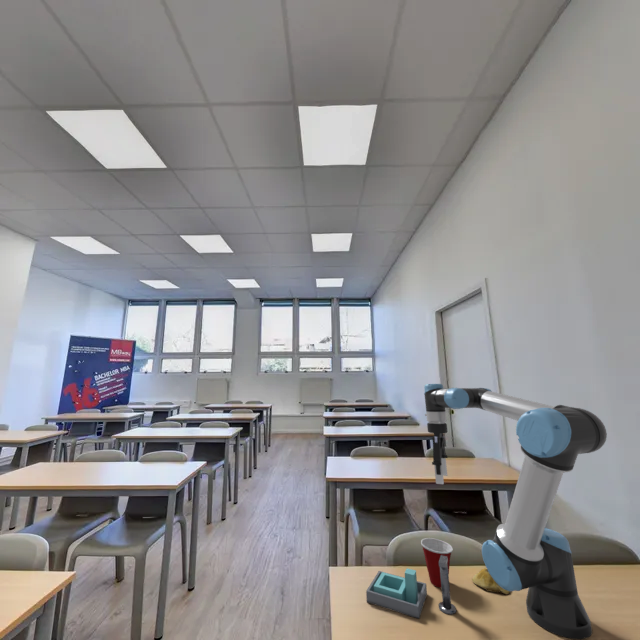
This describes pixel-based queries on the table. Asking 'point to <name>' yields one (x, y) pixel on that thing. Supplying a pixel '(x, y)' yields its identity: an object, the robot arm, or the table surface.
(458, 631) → the table surface
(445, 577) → the t stake
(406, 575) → the tabbed collar
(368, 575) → the table surface
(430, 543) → the plastic cup
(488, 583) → the fossil
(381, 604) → the tray
